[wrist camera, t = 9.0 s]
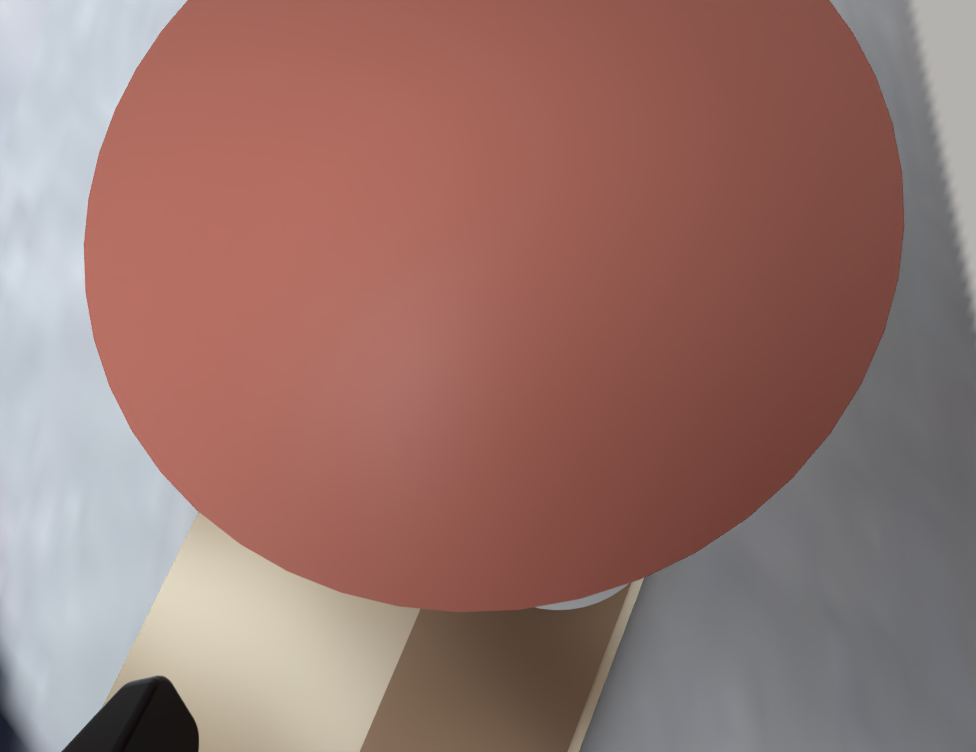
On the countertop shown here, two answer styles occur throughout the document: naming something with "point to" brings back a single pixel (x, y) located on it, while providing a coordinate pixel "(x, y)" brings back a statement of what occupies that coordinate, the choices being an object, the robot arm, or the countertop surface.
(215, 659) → the board
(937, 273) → the countertop surface
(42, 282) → the countertop surface
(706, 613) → the countertop surface
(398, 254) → the pink cylinder white base
